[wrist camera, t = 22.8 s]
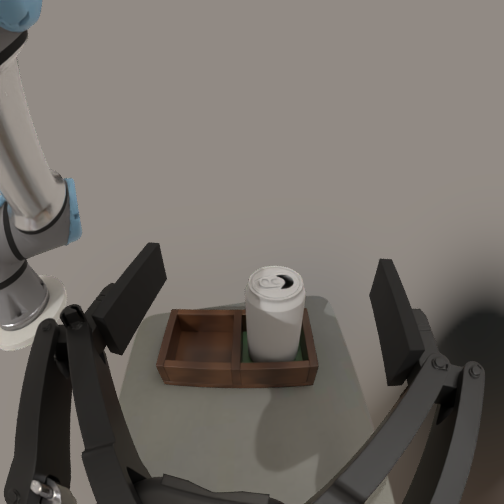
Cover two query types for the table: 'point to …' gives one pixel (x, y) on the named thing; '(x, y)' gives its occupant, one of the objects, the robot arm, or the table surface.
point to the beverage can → (274, 313)
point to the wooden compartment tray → (227, 353)
